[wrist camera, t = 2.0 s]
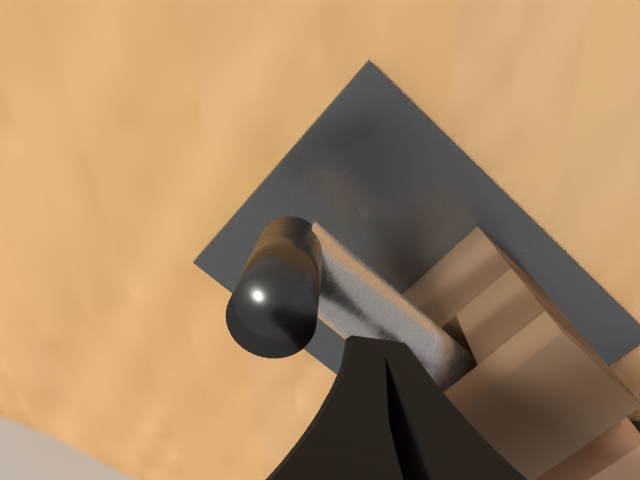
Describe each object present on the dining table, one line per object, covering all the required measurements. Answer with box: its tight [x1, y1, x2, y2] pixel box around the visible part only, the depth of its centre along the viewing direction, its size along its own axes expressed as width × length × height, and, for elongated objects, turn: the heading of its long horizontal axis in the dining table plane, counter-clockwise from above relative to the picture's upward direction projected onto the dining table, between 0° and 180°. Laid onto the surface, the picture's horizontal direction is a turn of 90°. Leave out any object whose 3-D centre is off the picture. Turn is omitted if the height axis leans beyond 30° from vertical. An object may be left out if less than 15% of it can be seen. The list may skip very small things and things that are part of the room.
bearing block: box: [403, 226, 640, 480], centre depth 16 cm, size 3×7×7 cm, turn 138°
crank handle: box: [226, 216, 478, 393], centre depth 13 cm, size 13×2×5 cm, turn 48°
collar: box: [535, 417, 640, 480], centre depth 16 cm, size 2×5×5 cm, turn 139°
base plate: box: [193, 60, 640, 374], centre depth 19 cm, size 16×10×1 cm, turn 48°
